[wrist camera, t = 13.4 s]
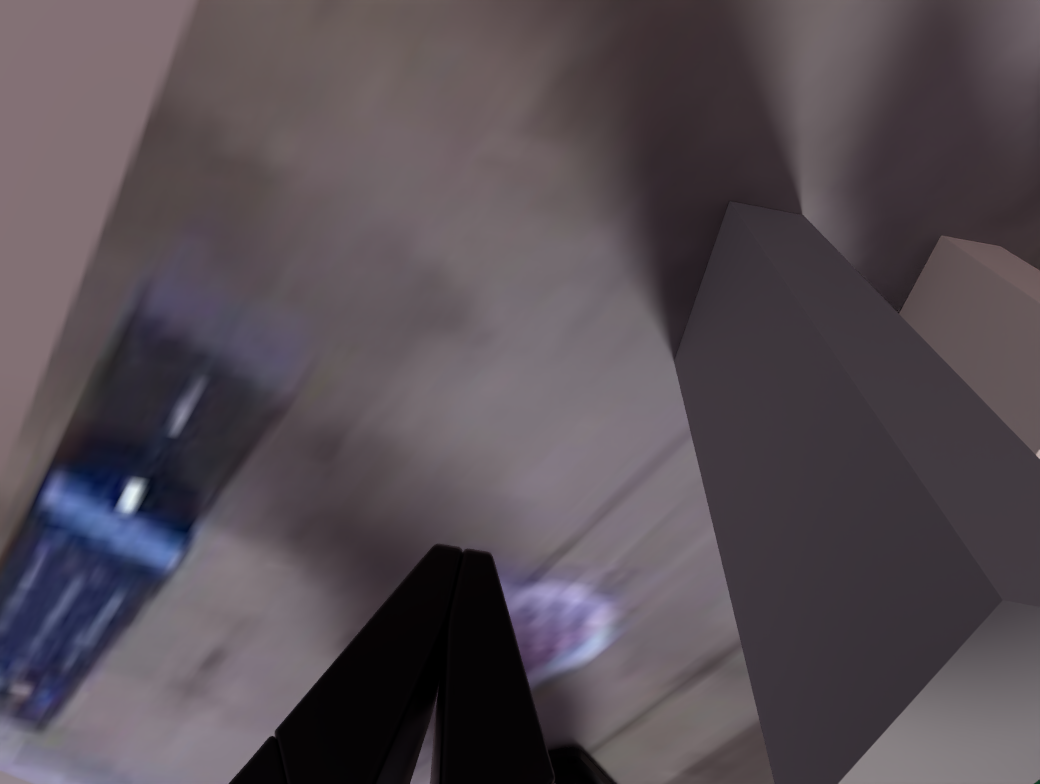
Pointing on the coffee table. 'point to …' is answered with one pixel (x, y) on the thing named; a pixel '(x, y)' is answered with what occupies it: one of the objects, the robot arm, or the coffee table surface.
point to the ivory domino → (984, 326)
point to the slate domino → (861, 522)
